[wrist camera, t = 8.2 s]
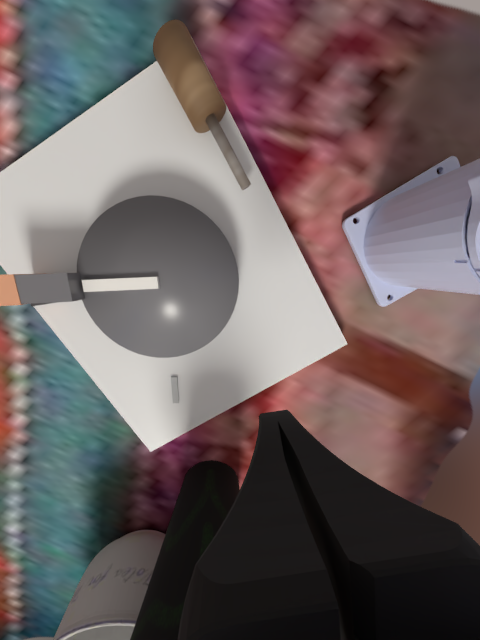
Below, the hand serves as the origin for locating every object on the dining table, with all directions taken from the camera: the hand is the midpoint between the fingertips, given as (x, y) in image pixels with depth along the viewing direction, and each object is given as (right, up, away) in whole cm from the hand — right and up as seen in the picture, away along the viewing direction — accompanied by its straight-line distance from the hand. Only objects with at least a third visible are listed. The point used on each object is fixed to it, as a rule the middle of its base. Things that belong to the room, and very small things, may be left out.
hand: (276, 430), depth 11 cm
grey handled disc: (-10, +8, +7) cm, 14 cm away
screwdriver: (-4, +18, +5) cm, 19 cm away
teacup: (-13, -21, +15) cm, 29 cm away
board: (-7, +8, +9) cm, 14 cm away
